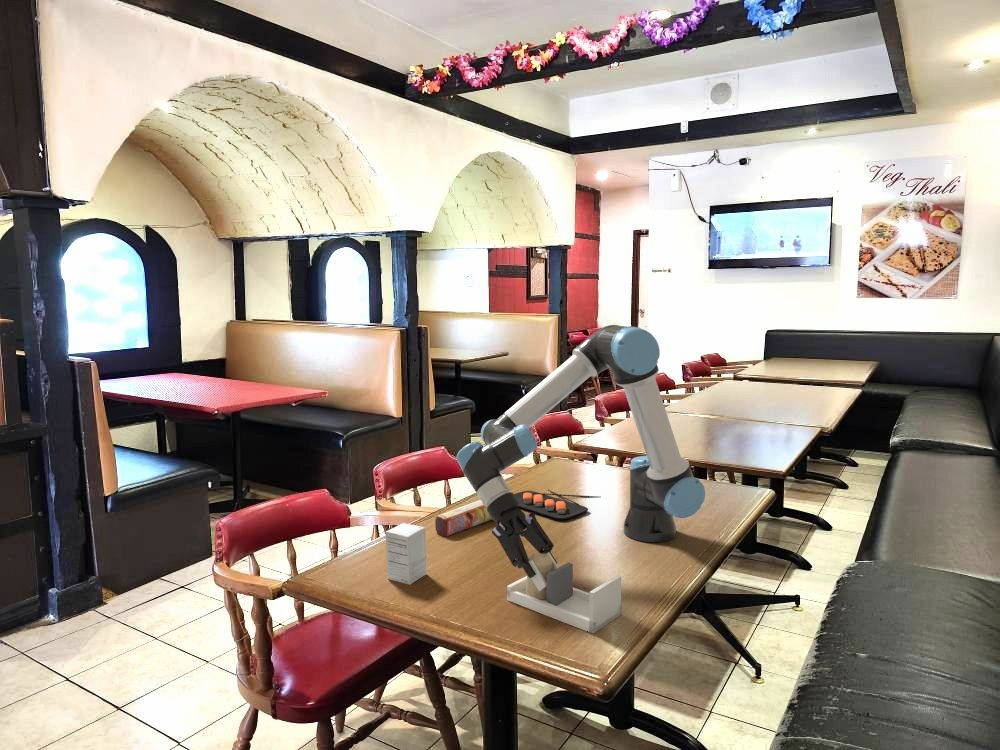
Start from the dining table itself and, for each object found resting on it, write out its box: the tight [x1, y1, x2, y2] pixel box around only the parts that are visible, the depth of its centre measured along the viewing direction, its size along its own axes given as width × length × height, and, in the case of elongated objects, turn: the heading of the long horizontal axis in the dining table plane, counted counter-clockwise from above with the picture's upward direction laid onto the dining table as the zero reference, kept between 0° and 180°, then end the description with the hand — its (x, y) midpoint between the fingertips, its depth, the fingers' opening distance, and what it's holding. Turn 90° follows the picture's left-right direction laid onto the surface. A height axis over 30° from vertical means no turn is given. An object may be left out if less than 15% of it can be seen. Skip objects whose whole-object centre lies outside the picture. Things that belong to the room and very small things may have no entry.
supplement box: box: [385, 522, 428, 585], centre depth 172 cm, size 7×7×13 cm
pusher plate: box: [547, 562, 574, 606], centre depth 155 cm, size 8×1×8 cm, turn 138°
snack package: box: [434, 499, 494, 537], centre depth 208 cm, size 21×7×7 cm, turn 136°
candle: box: [526, 552, 552, 600], centre depth 158 cm, size 6×6×10 cm
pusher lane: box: [506, 574, 622, 634], centre depth 155 cm, size 11×24×9 cm, turn 48°
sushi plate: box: [513, 489, 600, 520], centre depth 230 cm, size 29×30×4 cm
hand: (552, 583), depth 156 cm, fingers closed on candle, 6 cm apart
